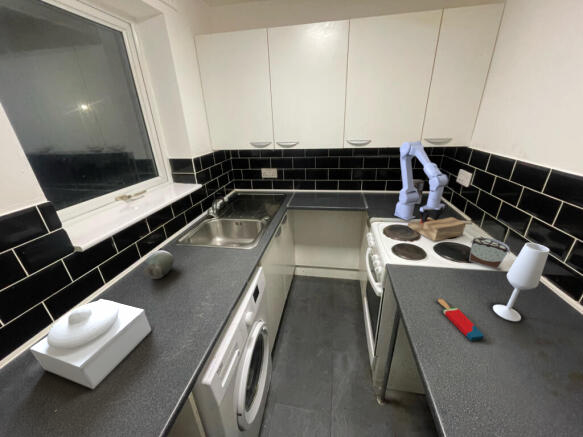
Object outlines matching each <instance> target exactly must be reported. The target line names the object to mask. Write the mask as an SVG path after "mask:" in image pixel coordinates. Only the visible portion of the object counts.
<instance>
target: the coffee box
mask: <svg viewBox="0 0 583 437" xmlns="http://www.w3.org/2000/svg"><path fill="white" fill-rule="evenodd" d="M413 186H414V187H415V188H416V189H417V192H418V194H419V199H418V201H416V203H415V205H421V202H422V199H423V198H422V197H423V192H424V187H425V181H424V180H423V179H413ZM407 193H409V192H407Z"/></svg>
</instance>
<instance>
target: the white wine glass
mask: <svg viewBox="0 0 583 437" xmlns="http://www.w3.org/2000/svg"><path fill="white" fill-rule="evenodd" d="M549 254H550V248H549V247H547V246H545V245H542V244H539V243H536V242H526V243H524V245H523V247H522V248H521V250H520V252H519V253H518V255H517V256H516V258H515V260H514V262H513V263H512V265H511V267H510V268H509V269H508V272H507V273H506V279H507V280H508V283H509V284H510V285H511V286H512V287H513V288H514V289H513V291H512V293H511V295H510V298H509V300H508V302H507V304H506V305H504V304H494V305H493V306H492V310H493V311H494V313H495V314H496V315H498V316H499V317H501V318H502V319H505V320H508V321H512V322H520V321H521V319H522V316H521V315H520V313H519V312H518V311H516V310H515V309H513V306H514V304H515V302H516V301H517V298H518V295H519V293H520V291H528V290H529V291H530V290H533V289H535V288H537V287H538V286H539V285H540V280H541V278H542V274H543V272H544V268H545V266H546V262H547V259H548V256H549Z"/></svg>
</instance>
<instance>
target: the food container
mask: <svg viewBox="0 0 583 437" xmlns="http://www.w3.org/2000/svg"><path fill="white" fill-rule="evenodd" d="M470 244H471V246H470V252H469V258H468V262H471V263H474V264H478V265H481V266H485V267H488V268H491V269H493V270H498V269H499V268H500V266H501V265H502V263H503V261H504V259H505V258H506V256H507V254H510V252H511V249H510V246H508V245H507V244H506V243H505V242H502V241H500V240H498V239H495V238H490V237H484V236H480V237H474V238H472V240H471V241H470Z"/></svg>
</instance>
